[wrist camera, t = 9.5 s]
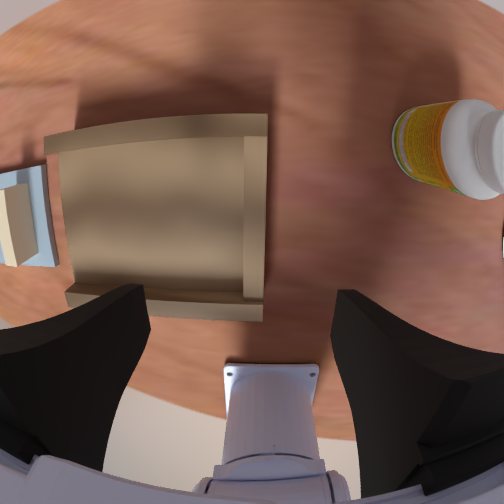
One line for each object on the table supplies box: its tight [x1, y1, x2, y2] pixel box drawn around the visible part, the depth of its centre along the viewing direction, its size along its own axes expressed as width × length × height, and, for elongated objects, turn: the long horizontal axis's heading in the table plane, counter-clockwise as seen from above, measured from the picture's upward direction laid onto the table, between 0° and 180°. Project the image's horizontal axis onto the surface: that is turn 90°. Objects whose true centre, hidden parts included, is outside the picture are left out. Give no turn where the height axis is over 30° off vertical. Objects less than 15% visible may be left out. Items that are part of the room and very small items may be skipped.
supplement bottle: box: [392, 99, 504, 200], centre depth 13 cm, size 5×5×10 cm
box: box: [44, 113, 268, 322], centre depth 18 cm, size 12×14×4 cm
